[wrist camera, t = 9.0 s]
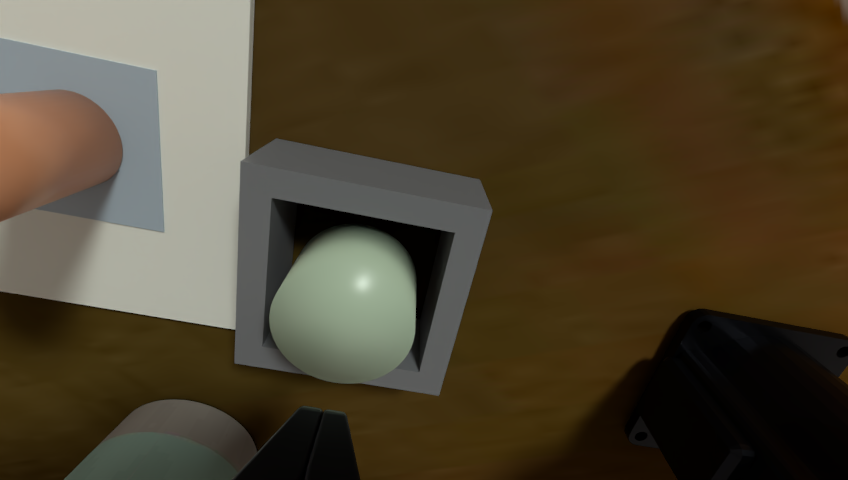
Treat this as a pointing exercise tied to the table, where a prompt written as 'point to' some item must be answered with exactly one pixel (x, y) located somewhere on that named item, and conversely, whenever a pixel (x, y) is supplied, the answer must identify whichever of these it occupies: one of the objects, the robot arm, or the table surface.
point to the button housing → (365, 195)
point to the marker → (52, 148)
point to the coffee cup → (170, 445)
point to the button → (347, 305)
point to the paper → (138, 153)
